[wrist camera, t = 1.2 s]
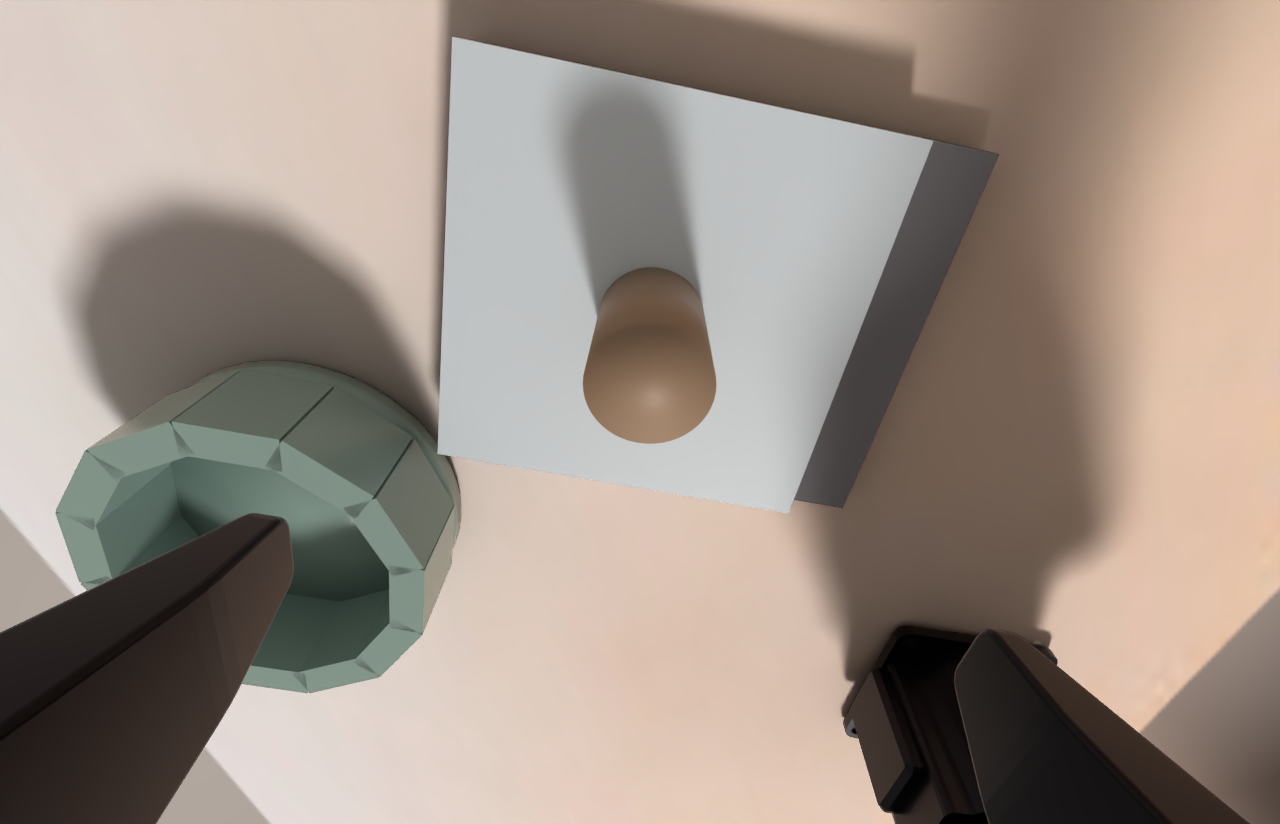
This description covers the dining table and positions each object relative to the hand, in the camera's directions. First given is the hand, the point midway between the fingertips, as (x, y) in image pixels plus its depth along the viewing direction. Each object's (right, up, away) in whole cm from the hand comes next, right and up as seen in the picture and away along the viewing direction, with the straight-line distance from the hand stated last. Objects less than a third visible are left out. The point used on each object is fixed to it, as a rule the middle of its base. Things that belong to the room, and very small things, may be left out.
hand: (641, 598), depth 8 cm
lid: (0, +5, +9) cm, 11 cm away
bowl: (-11, 0, +13) cm, 17 cm away
